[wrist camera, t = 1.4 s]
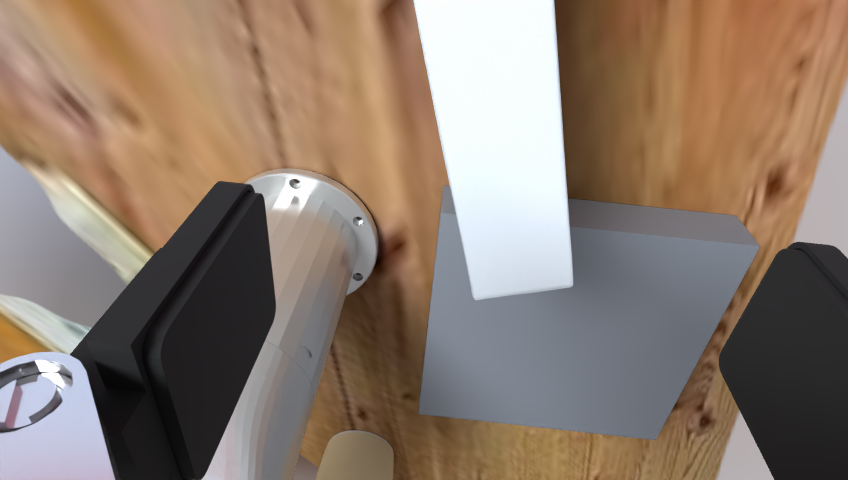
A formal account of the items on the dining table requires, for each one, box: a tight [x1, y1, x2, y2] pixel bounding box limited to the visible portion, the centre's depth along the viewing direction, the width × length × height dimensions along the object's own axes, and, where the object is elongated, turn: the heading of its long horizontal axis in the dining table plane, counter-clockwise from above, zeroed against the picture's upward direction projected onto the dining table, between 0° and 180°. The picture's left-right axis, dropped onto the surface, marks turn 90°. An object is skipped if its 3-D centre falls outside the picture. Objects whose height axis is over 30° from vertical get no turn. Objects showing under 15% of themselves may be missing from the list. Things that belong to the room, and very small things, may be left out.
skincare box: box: [414, 0, 573, 300], centre depth 26 cm, size 21×5×16 cm, turn 12°
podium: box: [418, 185, 760, 440], centre depth 44 cm, size 22×22×4 cm
